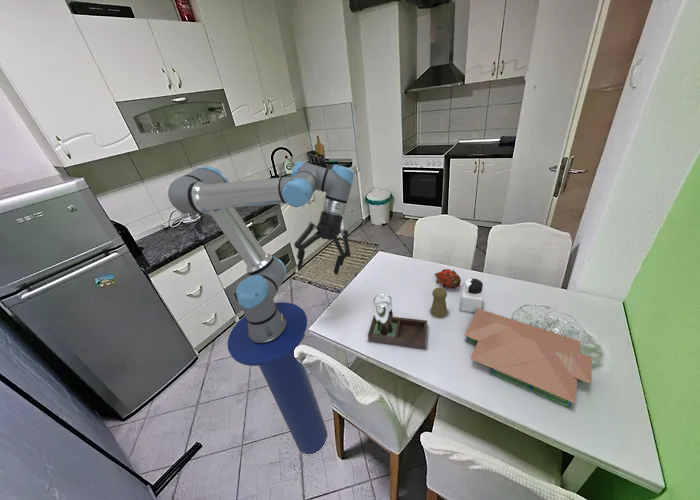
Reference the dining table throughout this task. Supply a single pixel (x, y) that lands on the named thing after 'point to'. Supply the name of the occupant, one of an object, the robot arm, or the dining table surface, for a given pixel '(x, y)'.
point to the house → (529, 354)
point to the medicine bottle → (472, 295)
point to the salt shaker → (439, 303)
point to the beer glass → (383, 314)
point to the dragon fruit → (448, 278)
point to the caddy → (402, 333)
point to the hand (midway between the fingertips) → (317, 270)
